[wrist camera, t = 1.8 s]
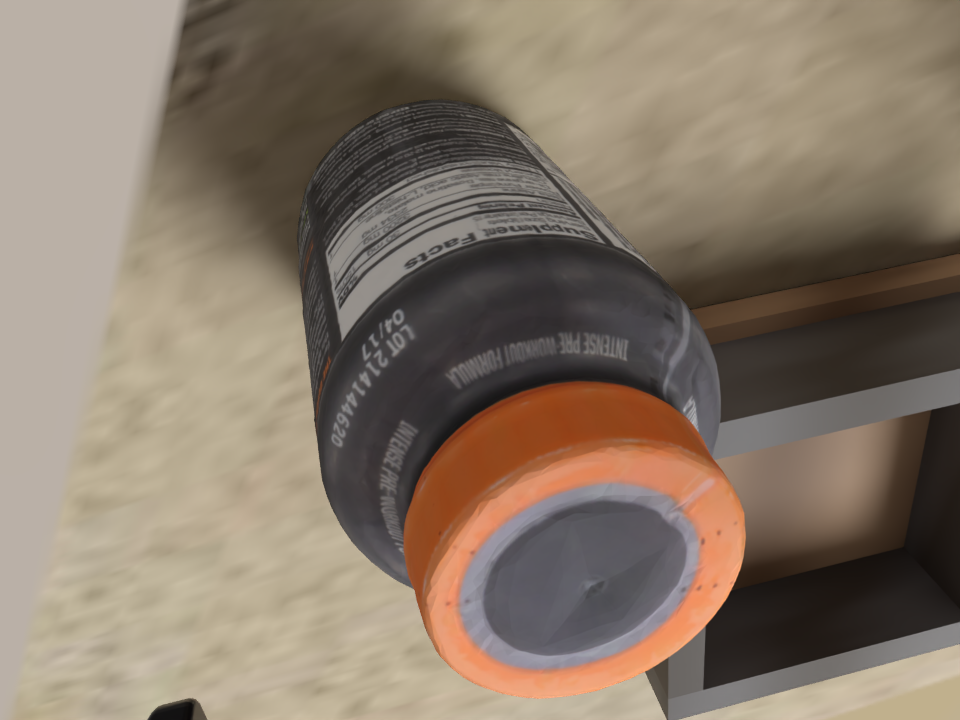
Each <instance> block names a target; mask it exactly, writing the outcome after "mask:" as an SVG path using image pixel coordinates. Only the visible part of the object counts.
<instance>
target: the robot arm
mask: <svg viewBox="0 0 960 720" xmlns="http://www.w3.org/2000/svg"><path fill="white" fill-rule="evenodd" d="M148 720H207V718H206V716H205V714H204V711H203V709H202V707H201V705H200V703H199V702H198V701H197V700H196V699H193V698H188V699H184V700H180V701H176V702H172V703H168V704H164V705H161V706H159V707H157V708H156V709H155V710H154V711H153V712H152V713H151V715H150V716H149V718H148Z"/></svg>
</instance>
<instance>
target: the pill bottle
mask: <svg viewBox="0 0 960 720" xmlns="http://www.w3.org/2000/svg"><path fill="white" fill-rule="evenodd" d="M297 242H298V252H299V276H300V286H301V293H302V302H303V318H304V325H305V333H306V342H307V349H308V359H309V369H310V378H311V388H312V396H313V404H314V415H315V417H314V421H315V428H316V434H317V442H318V451H319V459H320V467H321V474H322V481H323V484H324V488H325V491H326V494H327V497H328V500H329V502H330V505H331V507H332V509H333V511H334V513H335V515H336V517H337V519H338V521H339V523H340V525H341V526H342V528H343V529H344V531H345V532H346V534H347V535H348V537H349V538H350V540H351V541H352V542H353V543H354V544H355V546H356V547H357V548H358V549H359V550H360V551H361V552H362V553H363V554H364V555H365V556H366V557H367V558H368V559H369V560H370V561H371V562H372V563H374V564H375V565H376V566H377V567H379V568H380V569H381V570H382V571H384V572H385V573H387V574H388V575H389V576H391V577H392V578H394V579H395V580H397V581H399V582H401V583H403V584H405V585H407V586H409V587H411V588H413V589H414V590H415V594H416V599H417V603H418V606H419V609H420V612H421V616H422V619H423V622H424V626H425V629H426V631H427V633H428V636H429V637H430V639H431V641H432V643H433V645H434V647H435V649H436V651H437V653H438V654H439V655H440V657H441V658H442V659H443V660H444V661H445V662H446V663H447V664H448V665H449V666H450V667H451V668H452V669H453V670H455V671H456V672H457V673H459V674H460V675H461V676H462V677H464V678H466V679H467V680H469V681H471V682H473V683H475V684H477V685H479V686H482V687H484V688H487V689H490V690H493V691H496V692H499V693H502V694H507V695H513V696H519V697H525V698H537V699H538V698H554V697H564V696H571V695H578V694H583V693H588V692H593V691H597V690H600V689H603V688H606V687H608V686H611V685H614V684H617V683H620V682H622V681H625V680H628V679H630V678H633V677H635V676H636V675H638V674H641V673H643V672H645V671H647V670H649V669H651V668H653V667H654V666H656V665H657V664H659V663H660V662H662V661H664V660H665V659H667V658H668V657H670V656H671V655H672V654H674V653H675V652H677V651H678V650H679V649H680V648H682V647H683V646H684V645H685V644H687V643H688V642H689V641H690V640H691V639H692V638H693V637H695V636H696V635H697V634H698V633H699V632H700V631H701V630H702V629H703V628H704V627H705V626H706V624H707V623H708V622H709V621H710V620H711V619H712V618H713V617H714V615H715V614H716V613H717V611H718V610H719V608H720V607H721V606H722V604H723V603H724V602H725V600H726V599H727V597H728V595H729V593H730V591H731V589H732V587H733V585H734V583H735V581H736V578H737V576H738V574H739V571H740V569H741V565H742V561H743V557H744V550H745V540H746V532H745V518H744V511H743V508H742V505H741V502H740V500H739V498H738V496H737V494H736V492H735V490H734V488H733V486H732V485H731V483H730V481H729V480H728V478H727V477H726V475H725V474H724V472H723V471H722V469H721V468H720V467H719V465H718V464H717V463H716V462H715V460H714V459H713V458H712V455H713V452H714V448H715V444H716V441H717V437H718V430H719V424H720V418H721V395H720V382H719V376H718V371H717V364H716V361H715V357H714V354H713V352H712V349H711V346H710V343H709V341H708V339H707V337H706V334H705V332H704V330H703V329H702V327H701V325H700V323H699V321H698V320H697V318H696V316H695V315H694V314H693V312H692V311H691V310H690V309H689V308H688V306H687V305H686V304H685V302H684V301H683V300H682V299H681V298H680V297H679V296H678V295H677V294H676V293H675V292H674V290H673V289H672V288H671V287H670V286H669V285H668V284H667V283H666V282H665V281H664V280H663V279H662V277H661V276H660V275H659V274H658V273H657V271H656V270H655V269H654V268H653V267H652V266H651V265H650V264H649V263H648V262H647V260H646V259H645V258H644V257H643V256H642V255H641V254H640V253H639V252H638V251H637V250H636V249H635V248H634V247H633V246H632V245H631V244H630V243H629V242H628V240H627V239H626V238H625V237H624V236H623V235H622V234H621V233H619V232H618V230H617V229H616V228H615V227H614V226H613V225H612V224H611V222H609V221H608V220H607V218H606V217H605V216H604V215H603V214H602V213H601V212H600V211H599V210H598V209H597V208H596V207H595V206H594V205H593V204H592V203H591V201H590V200H589V199H588V198H587V197H586V196H585V195H584V194H583V193H582V192H581V191H580V190H579V189H578V188H577V187H576V186H575V185H574V184H573V183H572V181H571V180H570V179H569V178H568V177H567V176H566V175H565V174H564V173H563V172H562V170H561V169H560V168H559V167H558V166H557V165H556V164H555V163H554V162H553V161H552V160H551V159H550V158H549V157H548V156H547V155H546V154H545V153H544V152H543V150H542V149H541V148H540V147H539V146H538V145H537V144H536V143H535V142H534V141H533V140H532V139H531V138H530V137H529V136H528V135H526V134H525V133H524V132H523V131H522V130H521V129H520V128H519V127H517V126H516V125H515V124H514V123H512V122H511V121H509V120H508V119H506V118H505V117H503V116H501V115H498V114H496V113H494V112H492V111H490V110H488V109H486V108H483V107H480V106H477V105H473V104H469V103H465V102H459V101H450V100H424V101H419V102H414V103H409V104H404V105H400V106H396V107H393V108H389V109H386V110H383V111H381V112H379V113H377V114H375V115H373V116H371V117H369V118H367V119H366V120H364V121H363V122H361V123H360V124H358V125H357V126H355V127H354V128H352V129H351V130H350V131H349V132H348V133H346V134H345V135H344V136H343V137H342V138H340V139H339V140H338V141H337V142H336V144H335V145H334V146H333V147H332V148H331V149H330V150H329V152H328V153H327V154H326V155H325V156H324V158H323V159H322V161H321V162H320V164H319V165H318V167H317V169H316V170H315V172H314V174H313V176H312V178H311V180H310V182H309V184H308V186H307V188H306V190H305V194H304V198H303V202H302V206H301V211H300V217H299V224H298V233H297Z"/></svg>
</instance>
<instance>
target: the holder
mask: <svg viewBox="0 0 960 720" xmlns="http://www.w3.org/2000/svg"><path fill="white" fill-rule="evenodd" d="M691 311H692V312H693V314H694V315H695V316H696V318H697V320H698V321H699V323H700V325H701V327H702V329H703V330H704V332H705V334H706V337H707V339H708V341H709V343H710V346H711V349H712V352H713V354H714V357H715V361H716V364H717V371H718V376H719V382H720V395H721V418H720V424H719V430H718V437H717V441H716V444H715V448H714V452H713V455H712V458H713V459H714V460H715V462H716V463H717V464H718V465H719V467H720V468H721V469H722V471H723V472H724V474H725V475H726V477H727V478H728V480H729V481H730V483H731V485H732V486H733V488H734V490H735V492H736V494H737V496H738V498H739V500H740V502H741V505H742V508H743V511H744V518H745V532H746V540H745V550H744V557H743V561H742V565H741V569H740V571H739V574H738V576H737V578H736V581H735V583H734V585H733V587H732V589H731V591H730V593H729V595H728V597H727V599H726V600H725V602H724V603H723V604H722V606H721V607H720V608H719V610H718V611H717V613H716V614H715V615H714V617H713V618H712V619H711V620H710V621H709V622H708V623H707V624H706V626H705V627H704V628H703V629H702V630H701V631H700V632H699V633H698V634H697V635H696V636H695V637H693V638H692V639H691V640H690V641H689V642H688V643H687V644H685V645H684V646H683V647H682V648H680V649H679V650H678V651H677V652H675V653H674V654H672V655H671V656H670V657H668V658H667V659H665V660H664V661H662V662H660V663H659V664H657V665H656V666H654V667H653V668H651V669H649V670H647V671H645V673H646V675H647V677H648V679H649V682H650V684H651V686H652V688H653V690H654V692H655V695H656V697H657V699H658V701H659V703H660V706H661V708H662V710H663V712H664V714H665V716H666V719H667V720H679V719H682V718H686V717H690V716H694V715H697V714H701V713H705V712H708V711H712V710H716V709H720V708H723V707H727V706H731V705H735V704H738V703H742V702H746V701H749V700H753V699H757V698H761V697H764V696H768V695H772V694H775V693H779V692H783V691H787V690H790V689H794V688H798V687H802V686H805V685H809V684H813V683H816V682H820V681H824V680H828V679H831V678H835V677H839V676H842V675H846V674H850V673H854V672H857V671H861V670H865V669H869V668H872V667H876V666H880V665H883V664H887V663H891V662H895V661H898V660H902V659H906V658H909V657H913V656H917V655H921V654H924V653H928V652H932V651H936V650H939V649H943V648H947V647H950V646H954V645H958V644H960V254H955V255H950V256H946V257H941V258H936V259H931V260H927V261H922V262H917V263H912V264H907V265H903V266H898V267H893V268H888V269H884V270H879V271H874V272H869V273H864V274H860V275H855V276H850V277H845V278H841V279H836V280H831V281H826V282H821V283H817V284H812V285H807V286H802V287H798V288H793V289H788V290H783V291H778V292H774V293H769V294H764V295H759V296H754V297H750V298H745V299H740V300H735V301H731V302H726V303H721V304H716V305H711V306H707V307H702V308H697V309H692V310H691Z"/></svg>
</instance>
